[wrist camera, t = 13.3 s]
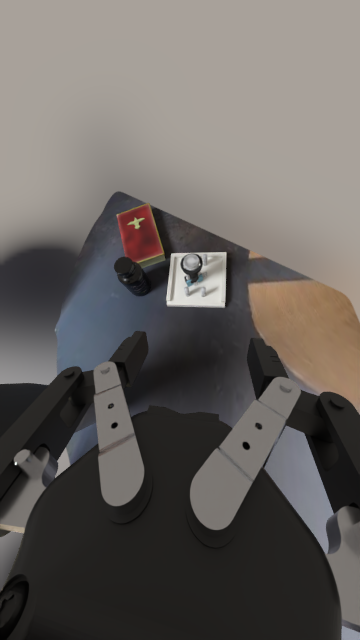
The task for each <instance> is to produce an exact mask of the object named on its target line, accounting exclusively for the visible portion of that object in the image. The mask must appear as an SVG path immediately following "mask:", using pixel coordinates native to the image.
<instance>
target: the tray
mask: <svg viewBox="0 0 360 640" xmlns="http://www.w3.org/2000/svg"><path fill="white" fill-rule="evenodd" d="M188 254H192V253H172V254H171V263H170V272H169V281H168V289H167V298H166V300H167V306H181V307H215V308H225V297H226V252H215V253H193V254H197V255H199V256H200V257H201V258H202V260H203V266H202V269H201V271H200V272H201V273H204V272H207V276H206V275H205V277H204V278H203V280H202V281H200V282H198V285H196V286H195V285H192V286H190V287H188V286H187V284H186V282H185V279H184V277H185V276H187V275H186V274H185V273H184V272H183V270H182V269H181V265H180V263H181V260H182V258H183V257H184V256H186V255H188ZM199 266H200V264H199ZM184 268H185V267H184ZM205 274H206V273H205Z"/></svg>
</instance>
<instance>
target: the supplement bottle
mask: <svg viewBox="0 0 360 640" xmlns="http://www.w3.org/2000/svg"><path fill="white" fill-rule="evenodd" d="M114 269H115V271H116V272H117V276H118V279H119V281H120V282H121V283H122V284H123V285H124V286H125V287H126V288H127V289H128V290H129V291H130V292H131V293H132V294H134V295H136V296H143V295H145V294H147V293H148V292H149V290H150V288H151V281H150V279H149V278H148V276H147V275H146V273H145V272H144V270H143V269H142V267H141V266H140V265H139V264H138V263H137V262H134V261H132V260H131V259H130V258H129V257H121V258H119V259H118V260H117V261H116V262H115V265H114Z"/></svg>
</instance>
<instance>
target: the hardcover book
mask: <svg viewBox="0 0 360 640" xmlns="http://www.w3.org/2000/svg"><path fill="white" fill-rule="evenodd" d="M117 220H118V224H119V229H120V234H121V238H122V243H123V247H124V252H125V257H129V258H130V259H131V260H132V261H134V262H137V263H138V264H139V265H140V266H141V267H142V268H144V267H147V266H150V265H153V264H156V263H158V262H161V261H164V260H166V259H165V256H164V255H165V253H164V250H163V246H162V243H161V240H160V237H159V233H158V230H157V227H156V223H155V220H154V217H153V213H152V210H151V207H150V204H149V203H147V204H144V205H141V206H139V207H136V208H133V209H131V210H128V211H125V212H122V213H120V214H117Z"/></svg>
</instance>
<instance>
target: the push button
mask: <svg viewBox="0 0 360 640" xmlns="http://www.w3.org/2000/svg"><path fill="white" fill-rule="evenodd" d="M199 264H200V266H199ZM180 265H181V269H182V270H183V272H184V273H185V274H186V275H187V276H185V277H184V279H185V282H186V284H187V286H188V287H190V286H192V285H195V286H196V285H198V282H200V281H202V280H203V278H204V277H205V275H206V276H207V272H204V273H201V272H200V271H201V269H202V266H203V260H202V258H201V257H200V256H199V255H197V254H193V253H192V254H188V255H186V256H184V257H183V258H182V260H181V263H180ZM184 267H185V268H184ZM205 273H206V274H205Z"/></svg>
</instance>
